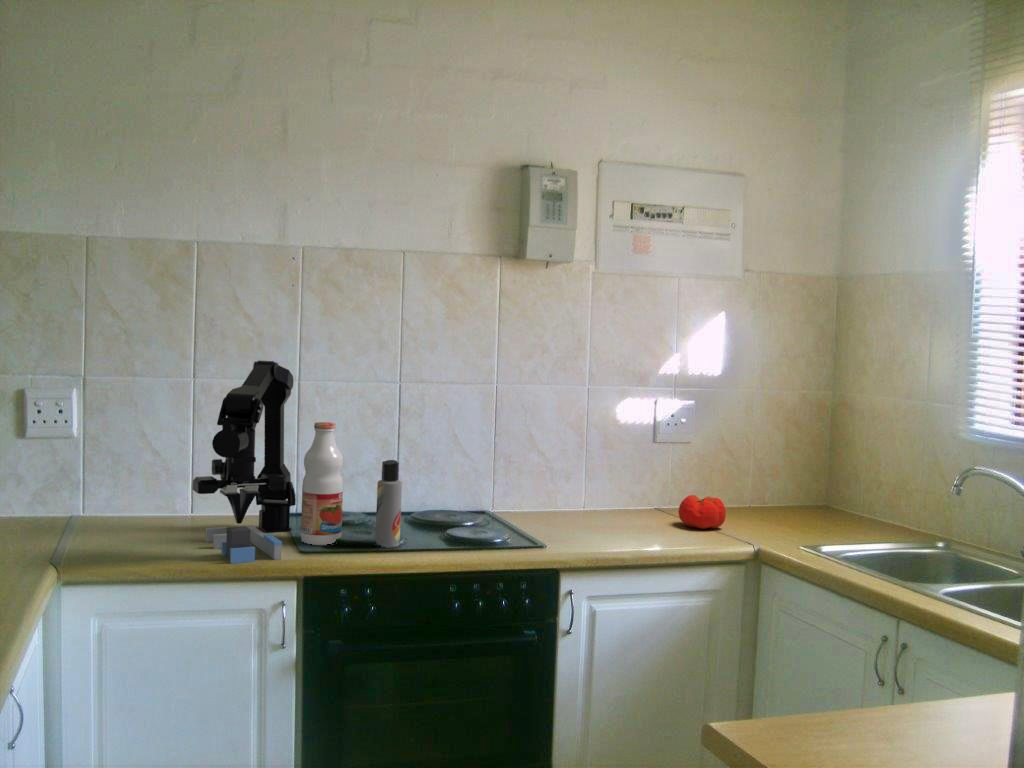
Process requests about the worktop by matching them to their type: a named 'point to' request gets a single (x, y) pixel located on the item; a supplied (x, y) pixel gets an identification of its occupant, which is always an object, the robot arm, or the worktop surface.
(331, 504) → the fruit juice
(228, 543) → the dark grey rectangular block
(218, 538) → the grey and blue blocks
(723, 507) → the tomato
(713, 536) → the worktop surface
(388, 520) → the lotion bottle
